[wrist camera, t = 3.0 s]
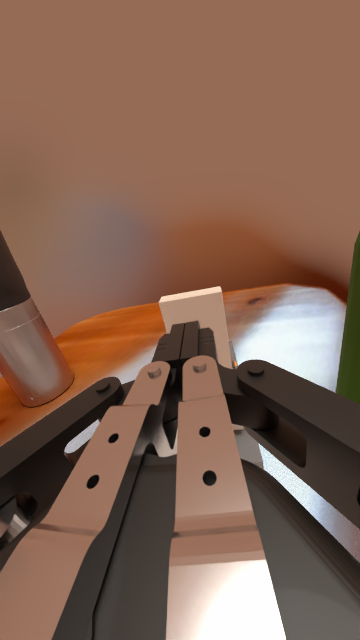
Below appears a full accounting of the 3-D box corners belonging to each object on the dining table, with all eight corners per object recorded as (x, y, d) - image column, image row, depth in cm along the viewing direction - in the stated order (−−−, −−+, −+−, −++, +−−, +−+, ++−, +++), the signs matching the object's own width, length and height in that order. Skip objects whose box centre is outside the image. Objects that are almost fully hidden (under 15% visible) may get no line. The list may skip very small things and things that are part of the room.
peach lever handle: (245, 430, 22) (228, 290, 16) (190, 433, 23) (152, 303, 17) (238, 399, 26) (222, 276, 20) (191, 404, 27) (161, 288, 21)
